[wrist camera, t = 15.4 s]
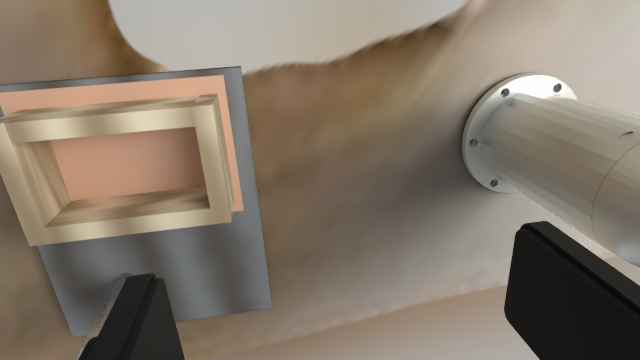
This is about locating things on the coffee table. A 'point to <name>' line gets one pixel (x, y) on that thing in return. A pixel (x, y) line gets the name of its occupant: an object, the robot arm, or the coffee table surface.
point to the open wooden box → (117, 211)
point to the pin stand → (152, 176)
